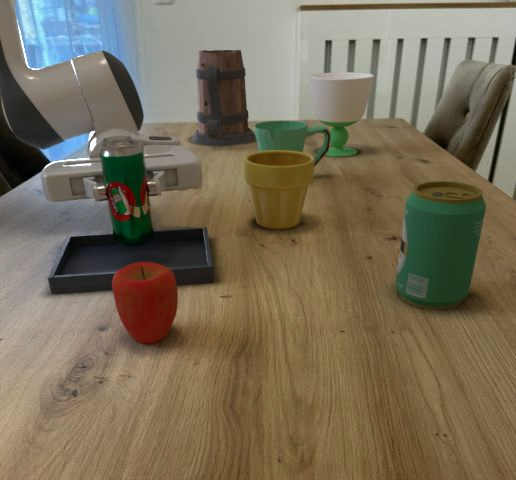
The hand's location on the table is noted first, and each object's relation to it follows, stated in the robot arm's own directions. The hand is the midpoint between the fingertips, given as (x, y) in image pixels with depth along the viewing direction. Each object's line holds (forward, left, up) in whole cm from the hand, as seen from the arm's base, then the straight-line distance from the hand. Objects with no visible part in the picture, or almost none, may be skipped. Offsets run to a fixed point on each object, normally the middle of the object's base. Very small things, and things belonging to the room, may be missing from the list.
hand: (128, 192), depth 66 cm
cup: (+30, +66, -10) cm, 73 cm away
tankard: (+2, +79, -10) cm, 79 cm away
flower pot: (+18, +18, -10) cm, 27 cm away
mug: (+20, +43, -10) cm, 48 cm away
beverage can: (+36, -7, -10) cm, 38 cm away
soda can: (0, +1, -7) cm, 7 cm away
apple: (+6, -17, -10) cm, 21 cm away
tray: (0, +1, -10) cm, 10 cm away
